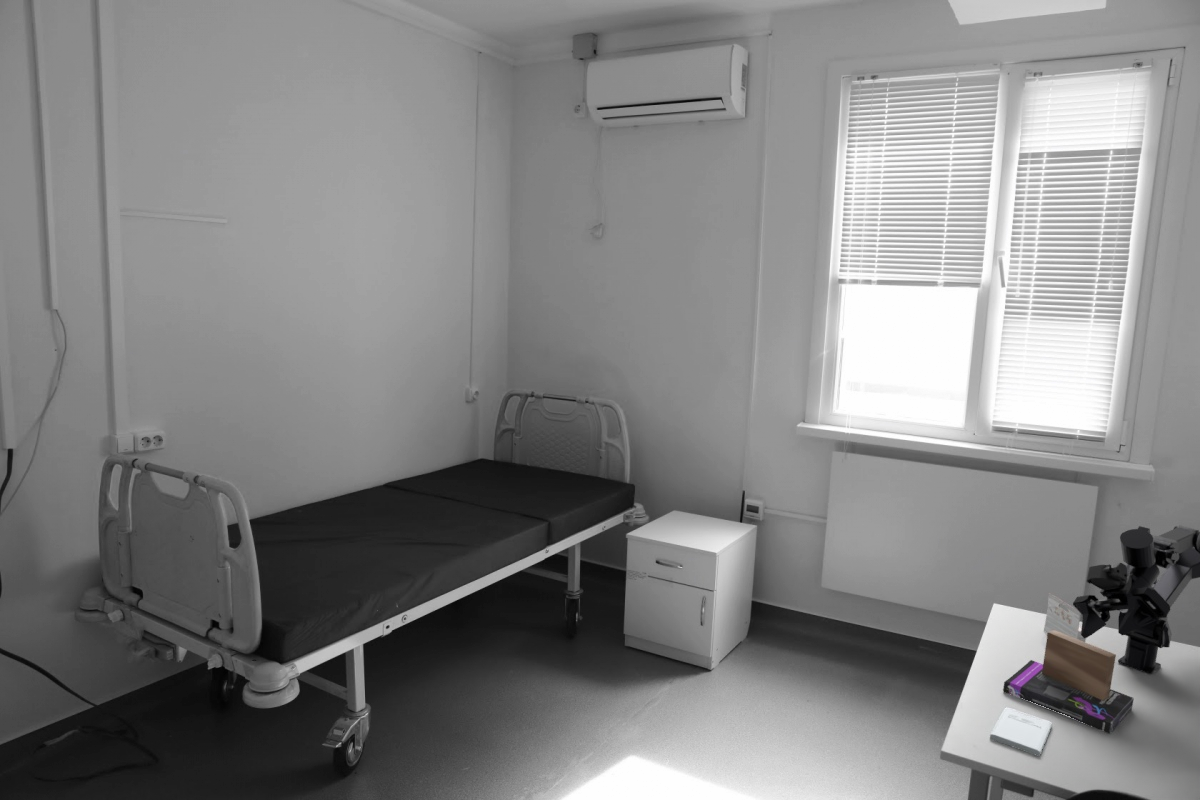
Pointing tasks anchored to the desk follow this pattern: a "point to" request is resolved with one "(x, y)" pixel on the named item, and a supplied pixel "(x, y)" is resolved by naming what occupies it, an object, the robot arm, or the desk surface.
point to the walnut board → (1078, 664)
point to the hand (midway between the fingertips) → (1101, 635)
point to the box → (1068, 698)
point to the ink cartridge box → (1063, 619)
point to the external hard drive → (1021, 731)
